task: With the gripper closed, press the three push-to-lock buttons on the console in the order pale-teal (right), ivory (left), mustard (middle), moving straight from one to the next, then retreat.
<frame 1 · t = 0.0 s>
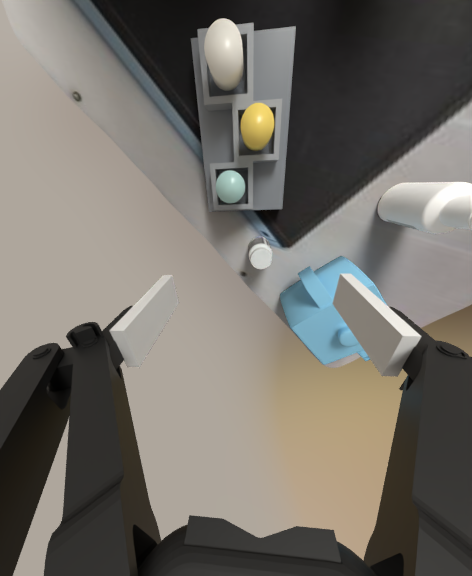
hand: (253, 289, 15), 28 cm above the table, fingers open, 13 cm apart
pill bottle: (259, 246, 42), on the table
console: (244, 141, 32), on the table
spray bottle: (395, 203, 36), on the table
button mustard: (256, 129, 26), point 7 cm above the table, slide at 0.0 cm
button ivory: (225, 59, 23), point 7 cm above the table, slide at 0.0 cm
container: (323, 296, 47), on the table
button teal: (231, 187, 30), point 7 cm above the table, slide at 0.0 cm
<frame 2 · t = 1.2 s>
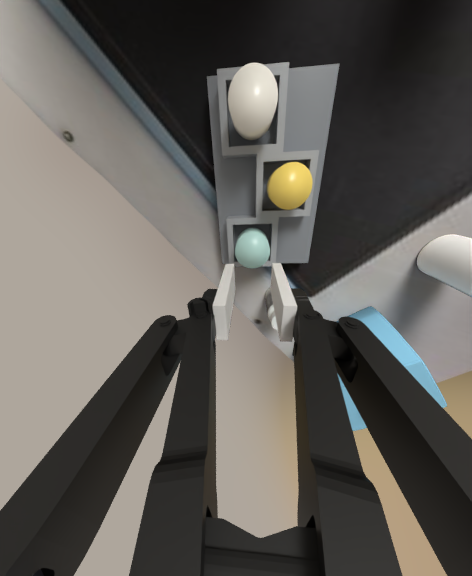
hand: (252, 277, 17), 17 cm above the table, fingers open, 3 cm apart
pill bottle: (277, 294, 37), on the table
console: (265, 187, 28), on the table
spray bottle: (438, 254, 31), on the table
button mustard: (287, 186, 21), point 7 cm above the table, slide at 0.0 cm
button ivory: (252, 107, 18), point 7 cm above the table, slide at 0.0 cm
container: (347, 345, 42), on the table
button teal: (252, 247, 25), point 7 cm above the table, slide at 0.0 cm
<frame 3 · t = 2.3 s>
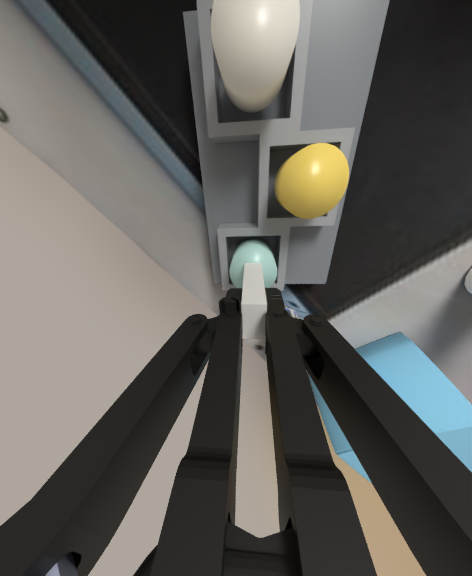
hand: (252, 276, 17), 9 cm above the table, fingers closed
console: (270, 184, 21), on the table
button mustard: (306, 184, 14), point 7 cm above the table, slide at 0.0 cm
button ivory: (254, 51, 11), point 7 cm above the table, slide at 0.0 cm
container: (366, 373, 35), on the table
button teal: (252, 264, 19), point 6 cm above the table, slide at 1.0 cm
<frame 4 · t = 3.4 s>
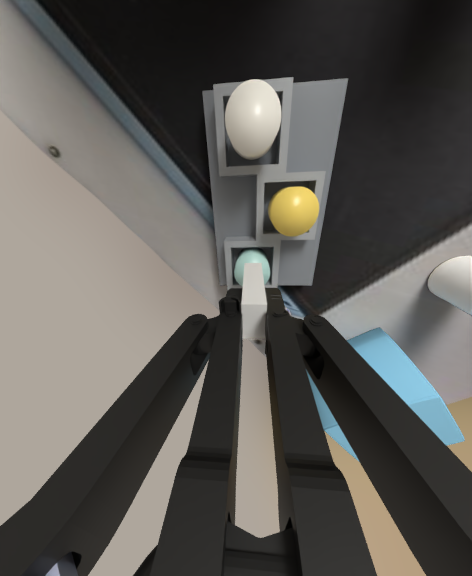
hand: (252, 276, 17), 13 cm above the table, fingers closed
console: (266, 205, 26), on the table
spray bottle: (450, 275, 29), on the table
button mustard: (290, 210, 19), point 7 cm above the table, slide at 0.0 cm
button ivory: (252, 126, 16), point 7 cm above the table, slide at 0.0 cm
container: (353, 365, 40), on the table
button teal: (252, 267, 24), point 6 cm above the table, slide at 1.8 cm
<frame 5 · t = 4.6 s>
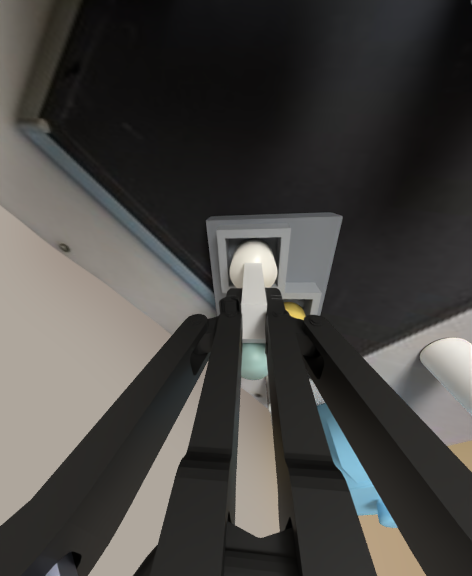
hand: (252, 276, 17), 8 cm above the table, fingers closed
console: (266, 294, 27), on the table
spray bottle: (441, 350, 30), on the table
button mustard: (288, 328, 21), point 7 cm above the table, slide at 0.0 cm
button ivory: (253, 265, 19), point 6 cm above the table, slide at 1.5 cm, touching gripper
container: (349, 415, 42), on the table
button teal: (252, 357, 26), point 6 cm above the table, slide at 1.8 cm
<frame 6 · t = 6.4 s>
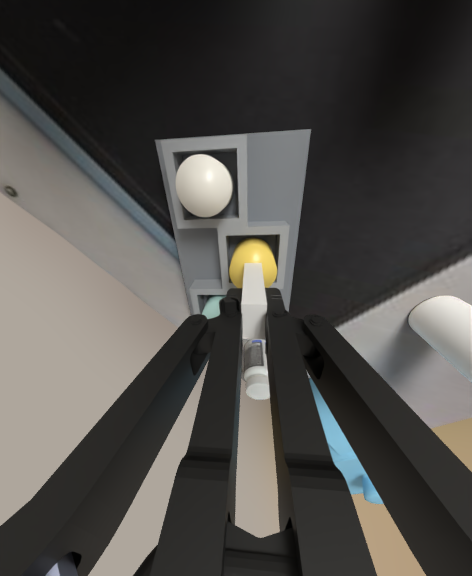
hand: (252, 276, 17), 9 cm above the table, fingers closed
pill bottle: (257, 346, 34), on the table
console: (237, 245, 24), on the table
spray bottle: (431, 312, 28), on the table
button mustard: (252, 264, 19), point 6 cm above the table, slide at 0.8 cm, touching gripper
button ivory: (207, 187, 16), point 6 cm above the table, slide at 1.8 cm
container: (338, 392, 39), on the table
button teal: (220, 313, 23), point 6 cm above the table, slide at 1.8 cm
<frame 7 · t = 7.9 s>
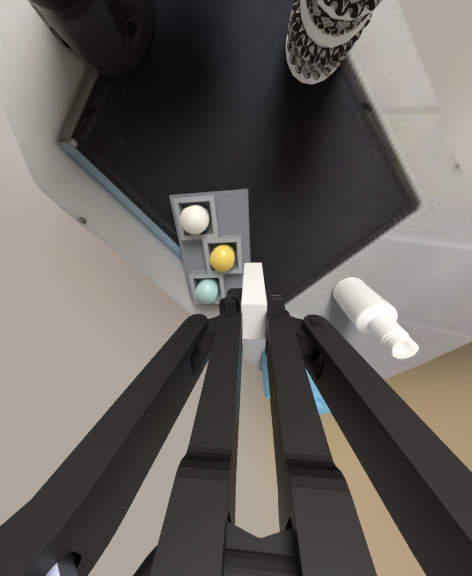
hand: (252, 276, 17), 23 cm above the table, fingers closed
decorative candle: (316, 42, 25), on the table
console: (217, 249, 40), on the table
spray bottle: (347, 289, 42), on the table
button mustard: (223, 256, 35), point 6 cm above the table, slide at 1.8 cm
button ivory: (196, 219, 32), point 6 cm above the table, slide at 1.8 cm
container: (300, 354, 53), on the table
button teal: (207, 289, 39), point 6 cm above the table, slide at 1.8 cm
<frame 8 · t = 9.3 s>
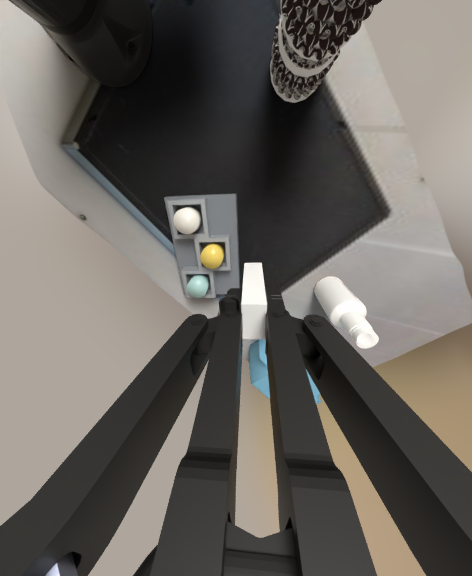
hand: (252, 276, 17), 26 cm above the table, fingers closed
decorative candle: (297, 66, 28), on the table
console: (208, 247, 43), on the table
spray bottle: (327, 287, 46), on the table
button mustard: (213, 255, 38), point 6 cm above the table, slide at 1.8 cm
button ivory: (188, 220, 35), point 6 cm above the table, slide at 1.8 cm
container: (285, 347, 58), on the table
button teal: (198, 284, 42), point 6 cm above the table, slide at 1.8 cm
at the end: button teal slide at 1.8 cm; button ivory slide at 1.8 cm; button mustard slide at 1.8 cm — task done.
